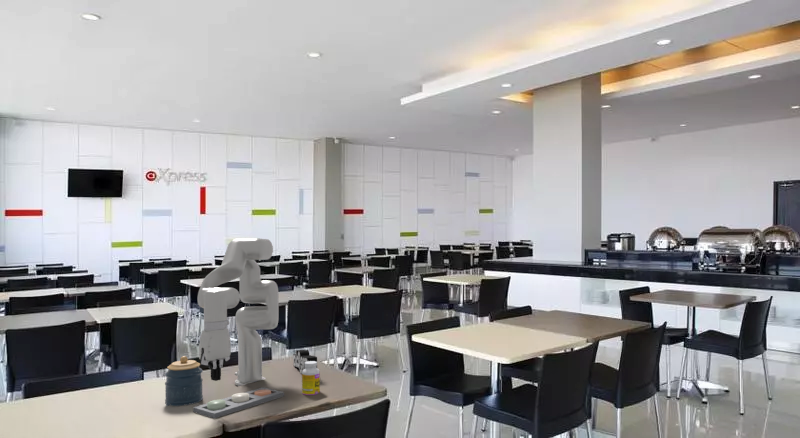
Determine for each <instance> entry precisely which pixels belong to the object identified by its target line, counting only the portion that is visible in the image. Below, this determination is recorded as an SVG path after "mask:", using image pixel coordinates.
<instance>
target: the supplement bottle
mask: <svg viewBox="0 0 800 438" xmlns="http://www.w3.org/2000/svg"><path fill="white" fill-rule="evenodd" d="M316 366H317V368H316ZM320 381H321V379H320V369H319V368H318V361H317V362H316V361H308V362H305V369H304V370H303V371H302V374H301V385H302V386H301V393H302V394H303V395H304V396H315V395H318V394H320V393H321V384H320Z"/></svg>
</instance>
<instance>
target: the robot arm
mask: <svg viewBox="0 0 800 438" xmlns="http://www.w3.org/2000/svg"><path fill="white" fill-rule="evenodd" d="M273 253H274V246H273V244H272V242H271V240H269V239H267V238H258V237H257V238H256V237H254V238H253V237H251V238H246V237H245V238H235V239H232V240H231V241H229V243H228V244H227V247H226V251H225V254H224V255H223V258H222V262H221V265H219V266H218V267H216V268H215V269H213V270H212V271H211V272H209V273H208V274H207V275H206V276H205V277H204V279H203V280H202V282H201V283H200V284H201V285H200V287H199V289H198V292H197V305H198V306H199V307H200V308H202V309H203V330H202V331H201V334H200V337H199V338H200V339H199V347H198V359H199V360H200V365H202V366H206V367H208V369H210V380H211V381H215V382H218V381H220V380H221V378H222V377H221V376H222V371H221V370H222V368H223V365H224V364H225V362H228V361H229V360H230V359H231V354H232V351H231V350H232V349H231V348H232V347H231V346H232V345H231V343H232V342H231V337H230V330H229V328H228V325H229V324H230V321H229V320H228V309H233V308H236V307H237V306H238V305H239V302H240V301H241V302H242V303H244V304H265V306H255V305H253V306H244V307H243V306H242V307H241V308H239V309H237V311H236V313H235V324H236V330H237V347H238V349H237V351H238V353H237V356H238V357H237V358H238V361H237V362H238V364H237V365H238V366H237V368H238V370H237V371H235V372H234V376H237V379H235V380H234V385H236V386H238V387H241V386H245V385H249V384H251V383H252V384H253V383H257V382H260V381H263V380H266V379H267V378H266V377H265V376H263V353H262V352H263V349H262V347H263V345H262V344H263V343H262V342H263V341H262V338H261V336H260V334H259V333H258V331H257V330H274V329H276V328H277V327H278V325H279V324H278V323H279V319H280V318H279V313H280V312H279V307H280V306H279V288H278V284H277V282H275V281H274V280H269V279H268V280H267V279H265V280H264V279H263V280H261V267H260V265H259V264H258V263H257V262H256V261H257V260H258V261H261V260H262V261H264V260H265V261H267V260H270V259H271V257H272V256H273ZM238 278H239V291H238V289H236V288H234V287H218V286H220V285H222V284H226V283H228V282H233V280H236V279H238Z"/></svg>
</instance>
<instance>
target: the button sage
mask: <svg viewBox="0 0 800 438" xmlns="http://www.w3.org/2000/svg"><path fill="white" fill-rule="evenodd" d="M206 404H207V409H208V410H212V411H216V410H219V409H222V408H225V407H226V401H225V400H221V399H213V400H210V401H207V402H206Z"/></svg>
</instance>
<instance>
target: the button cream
mask: <svg viewBox="0 0 800 438" xmlns="http://www.w3.org/2000/svg"><path fill="white" fill-rule="evenodd" d="M231 396H232V402H235V403H242V402H245V401H248V400H249V394H248V393H245V392H238V393H234V394H232V395H231Z"/></svg>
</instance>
